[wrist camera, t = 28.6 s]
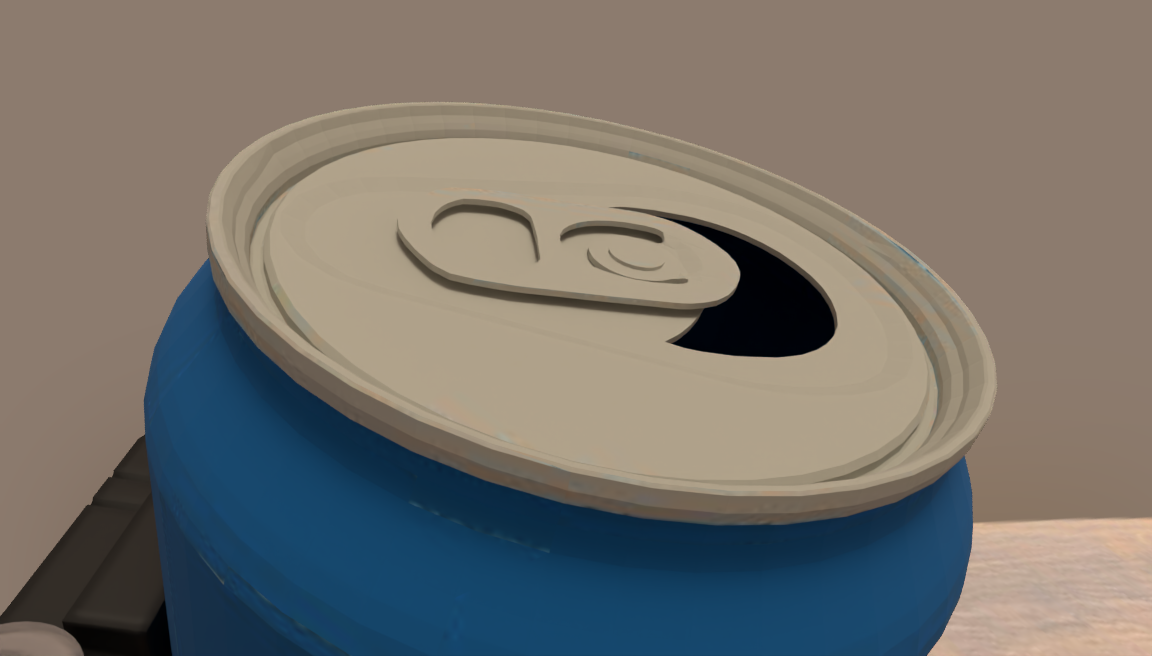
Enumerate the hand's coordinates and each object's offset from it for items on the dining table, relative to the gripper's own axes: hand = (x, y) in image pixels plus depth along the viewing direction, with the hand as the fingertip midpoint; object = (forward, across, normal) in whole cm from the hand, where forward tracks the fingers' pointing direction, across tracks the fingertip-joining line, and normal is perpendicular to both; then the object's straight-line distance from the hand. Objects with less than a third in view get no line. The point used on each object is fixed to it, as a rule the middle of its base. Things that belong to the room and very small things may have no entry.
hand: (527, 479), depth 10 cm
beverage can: (-2, 0, -7) cm, 8 cm away
